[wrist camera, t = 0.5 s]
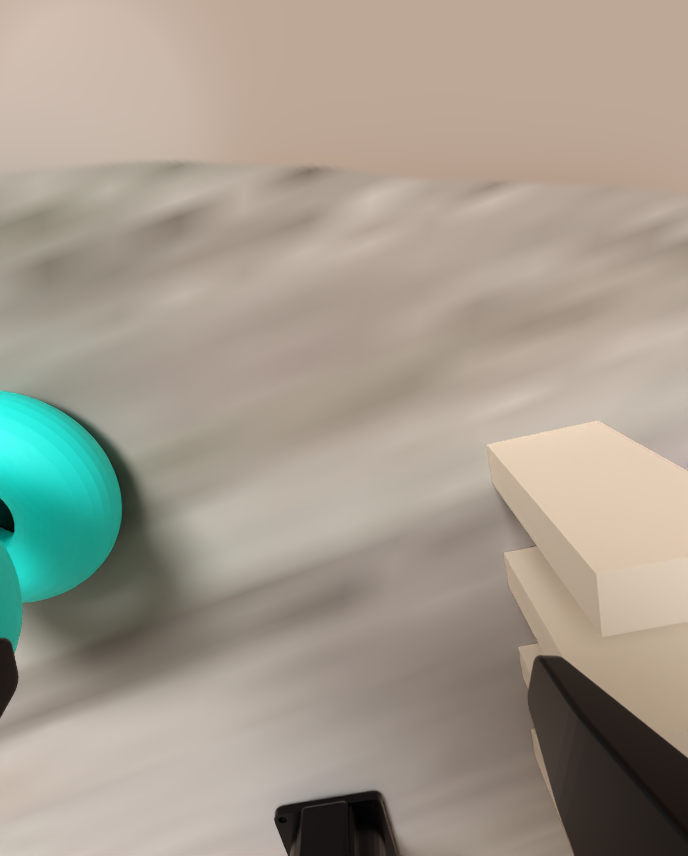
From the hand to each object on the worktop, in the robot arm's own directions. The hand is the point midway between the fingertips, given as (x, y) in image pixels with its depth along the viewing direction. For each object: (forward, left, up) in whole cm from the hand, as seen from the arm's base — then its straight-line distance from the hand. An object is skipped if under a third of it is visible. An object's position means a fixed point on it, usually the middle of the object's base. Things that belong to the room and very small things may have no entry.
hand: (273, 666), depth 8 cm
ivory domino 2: (-9, -10, -14) cm, 19 cm away
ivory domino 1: (-3, -10, -14) cm, 17 cm away
